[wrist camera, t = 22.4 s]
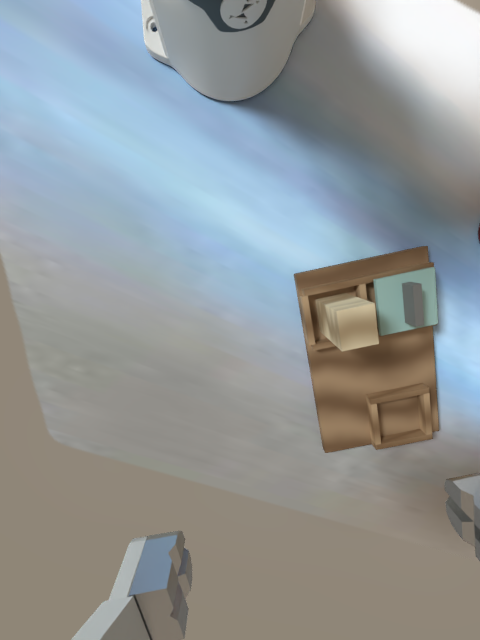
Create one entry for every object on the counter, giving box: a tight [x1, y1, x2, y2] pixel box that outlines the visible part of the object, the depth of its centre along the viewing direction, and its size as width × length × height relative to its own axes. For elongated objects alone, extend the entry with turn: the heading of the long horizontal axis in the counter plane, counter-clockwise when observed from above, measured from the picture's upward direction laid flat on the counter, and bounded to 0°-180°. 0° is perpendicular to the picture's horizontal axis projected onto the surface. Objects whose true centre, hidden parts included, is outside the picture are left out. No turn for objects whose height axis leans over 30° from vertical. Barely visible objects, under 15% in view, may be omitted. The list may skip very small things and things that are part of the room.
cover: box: [373, 267, 438, 336], centre depth 35 cm, size 7×7×3 cm
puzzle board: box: [294, 246, 439, 453], centre depth 40 cm, size 27×17×3 cm, turn 12°
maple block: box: [315, 293, 379, 351], centre depth 34 cm, size 4×4×8 cm
